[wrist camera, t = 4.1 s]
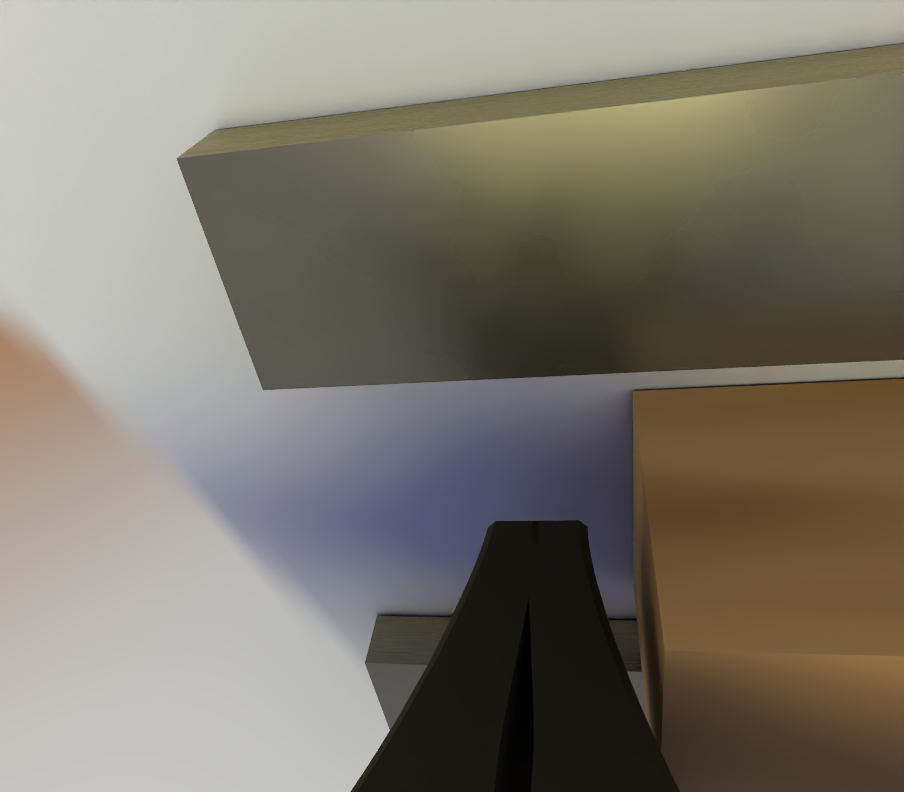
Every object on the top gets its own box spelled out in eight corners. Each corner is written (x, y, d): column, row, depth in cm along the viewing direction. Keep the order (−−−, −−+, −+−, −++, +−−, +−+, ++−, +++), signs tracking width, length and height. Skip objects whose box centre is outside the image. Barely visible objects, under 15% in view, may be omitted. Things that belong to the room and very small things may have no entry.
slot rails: (1114, 734, 13) (1150, 793, 12) (406, 703, 15) (397, 750, 14) (1693, -57, 6) (1875, -45, 5) (214, 129, 8) (176, 158, 7)
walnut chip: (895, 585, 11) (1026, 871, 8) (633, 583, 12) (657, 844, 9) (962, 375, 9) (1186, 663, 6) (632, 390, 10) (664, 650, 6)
